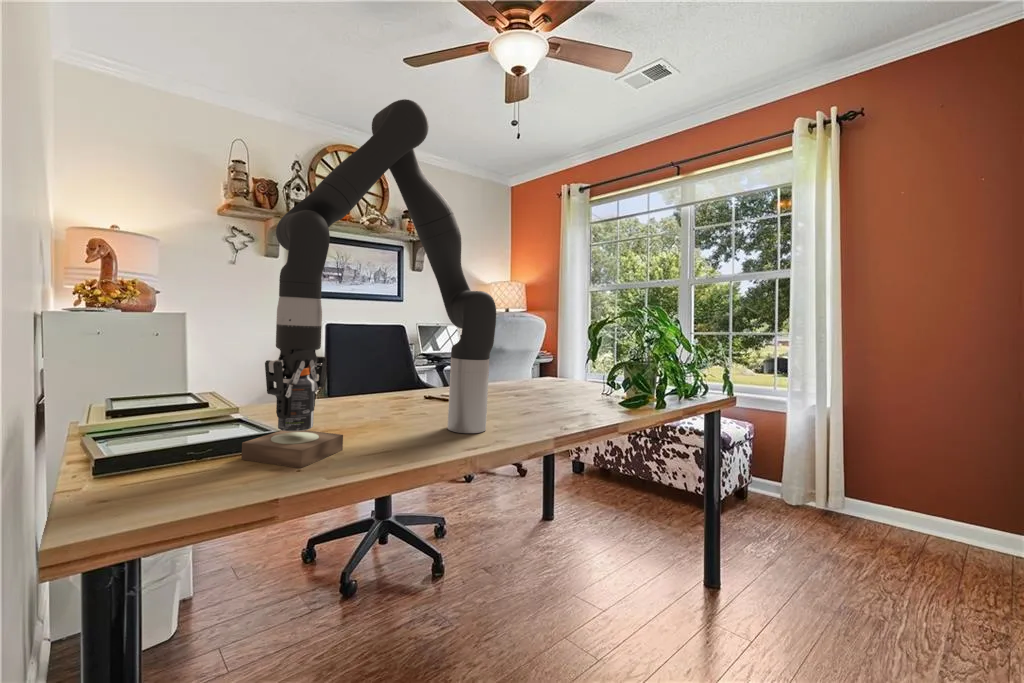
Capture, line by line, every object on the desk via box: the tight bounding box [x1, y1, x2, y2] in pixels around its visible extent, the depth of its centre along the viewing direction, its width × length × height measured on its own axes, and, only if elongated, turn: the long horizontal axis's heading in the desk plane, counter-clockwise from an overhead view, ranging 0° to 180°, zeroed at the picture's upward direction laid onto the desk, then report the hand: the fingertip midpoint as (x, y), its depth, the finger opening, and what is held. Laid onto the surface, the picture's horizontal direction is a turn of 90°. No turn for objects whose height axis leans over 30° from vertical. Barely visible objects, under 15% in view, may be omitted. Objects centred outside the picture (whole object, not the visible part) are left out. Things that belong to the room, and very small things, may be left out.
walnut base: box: [241, 429, 344, 469], centre depth 87 cm, size 12×12×3 cm
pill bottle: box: [277, 368, 315, 432], centre depth 86 cm, size 6×6×11 cm
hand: (296, 414), depth 87 cm, fingers closed on pill bottle, 6 cm apart
